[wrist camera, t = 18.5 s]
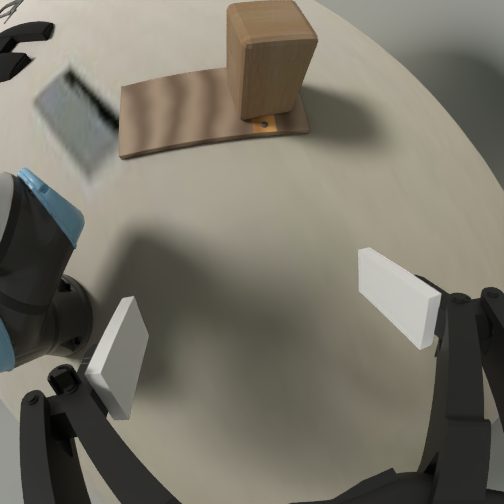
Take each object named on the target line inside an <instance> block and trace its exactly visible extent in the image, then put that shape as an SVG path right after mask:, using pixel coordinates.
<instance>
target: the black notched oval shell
mask: <svg viewBox="0 0 504 504" xmlns="http://www.w3.org/2000/svg"><path fill="white" fill-rule="evenodd" d="M52 29H53V23H49V22H41V21H37V22H29V23H24V24H20V25H17V26H14V27H11V28H9V29H7V30H5V31H3V32H1V33H0V82H4V81H7V80H10V79H11V78H12V77H13V76H15V75H16V74H17V73H18V72H19V71H20V70H21V69H22V68H24V67H25V66H26V65H27V64H28V63H29V62H30V61H31V59H30V58H29V57H28V56H27V54H26V53H13V52H11V53H9V52H10V50H11V49H12V48H13V47H14V45H15V44H16V43H20V42H31V41H47V39H48V38H49V36H50V33H51V31H52Z"/></svg>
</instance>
